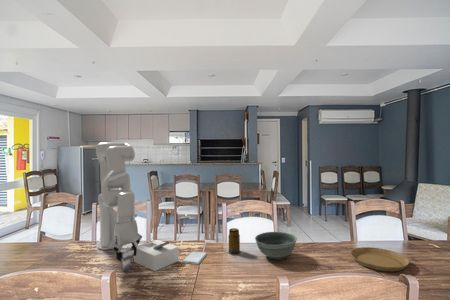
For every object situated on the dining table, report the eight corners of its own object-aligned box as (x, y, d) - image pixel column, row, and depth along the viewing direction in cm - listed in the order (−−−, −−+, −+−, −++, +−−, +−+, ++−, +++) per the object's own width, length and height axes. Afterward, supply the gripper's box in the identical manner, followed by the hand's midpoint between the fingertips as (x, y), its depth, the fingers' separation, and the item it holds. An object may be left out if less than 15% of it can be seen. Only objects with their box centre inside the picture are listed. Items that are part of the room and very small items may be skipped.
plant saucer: (339, 257, 132) (339, 250, 132) (374, 250, 140) (374, 244, 140) (383, 278, 109) (383, 271, 109) (422, 269, 118) (421, 261, 118)
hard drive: (192, 251, 139) (182, 260, 127) (206, 252, 137) (197, 262, 125) (192, 254, 139) (182, 264, 127) (206, 255, 137) (197, 265, 125)
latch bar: (153, 249, 126) (153, 247, 127) (161, 246, 130) (161, 244, 130) (161, 246, 123) (160, 243, 123) (169, 243, 126) (168, 241, 127)
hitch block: (133, 261, 129) (133, 247, 129) (157, 252, 140) (157, 239, 140) (154, 271, 118) (154, 255, 118) (178, 260, 129) (178, 246, 129)
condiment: (234, 248, 145) (234, 226, 145) (245, 252, 138) (245, 230, 138) (224, 251, 140) (224, 229, 140) (235, 256, 134) (234, 233, 134)
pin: (116, 270, 120) (116, 250, 120) (129, 265, 125) (129, 246, 125) (124, 274, 116) (123, 254, 116) (136, 269, 121) (136, 249, 121)
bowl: (298, 267, 121) (298, 245, 121) (253, 263, 125) (253, 242, 125) (295, 250, 141) (295, 231, 141) (256, 247, 145) (256, 229, 145)
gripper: (138, 214, 129) (138, 250, 129) (103, 221, 116) (104, 261, 116) (147, 216, 125) (147, 253, 124) (112, 224, 111) (112, 266, 111)
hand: (126, 257), depth 120 cm, fingers open, 6 cm apart
